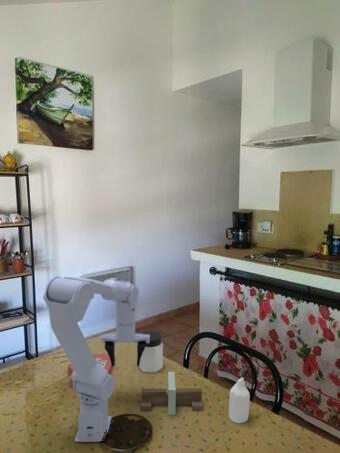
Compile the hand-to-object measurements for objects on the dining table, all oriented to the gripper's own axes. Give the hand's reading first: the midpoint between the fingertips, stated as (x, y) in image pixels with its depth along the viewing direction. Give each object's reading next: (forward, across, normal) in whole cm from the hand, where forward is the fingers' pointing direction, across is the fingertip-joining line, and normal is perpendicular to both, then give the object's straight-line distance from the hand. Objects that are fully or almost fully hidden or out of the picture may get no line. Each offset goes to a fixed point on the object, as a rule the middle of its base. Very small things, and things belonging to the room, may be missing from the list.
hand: (125, 364), depth 105 cm
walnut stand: (+10, -14, +4) cm, 18 cm away
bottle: (+11, -33, +10) cm, 36 cm away
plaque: (+11, +14, -14) cm, 23 cm away
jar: (+11, -7, -18) cm, 22 cm away
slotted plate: (+10, -14, +4) cm, 18 cm away
